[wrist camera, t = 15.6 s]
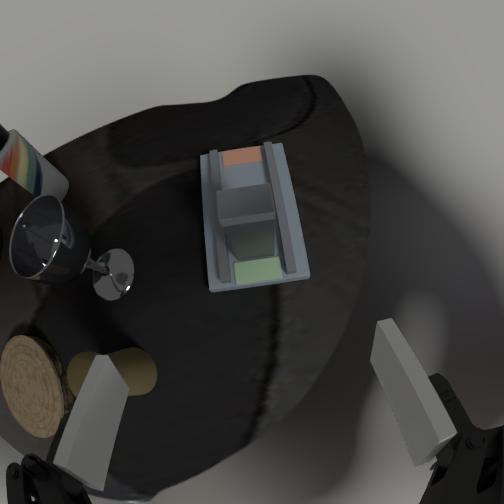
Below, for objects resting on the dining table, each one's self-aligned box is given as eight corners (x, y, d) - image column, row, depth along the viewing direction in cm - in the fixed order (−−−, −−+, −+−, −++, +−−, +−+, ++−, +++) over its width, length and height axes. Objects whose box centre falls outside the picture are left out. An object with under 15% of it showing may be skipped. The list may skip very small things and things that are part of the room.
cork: (135, 337, 31) (81, 333, 20) (167, 376, 29) (120, 389, 19) (106, 366, 30) (49, 370, 19) (135, 404, 28) (83, 423, 18)
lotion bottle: (44, 192, 39) (-27, 132, 20) (66, 172, 40) (-2, 103, 21) (49, 213, 37) (-32, 153, 18) (72, 192, 38) (-5, 120, 19)
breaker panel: (308, 278, 31) (311, 273, 29) (212, 292, 32) (206, 288, 29) (281, 149, 37) (282, 137, 34) (202, 161, 37) (198, 150, 35)
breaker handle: (275, 255, 31) (275, 212, 20) (237, 261, 31) (219, 220, 20) (271, 234, 31) (270, 182, 21) (235, 239, 32) (216, 191, 21)
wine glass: (117, 316, 32) (32, 295, 17) (80, 283, 33) (0, 251, 19) (148, 262, 33) (77, 212, 19) (108, 235, 35) (38, 183, 21)
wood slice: (55, 323, 32) (42, 321, 29) (90, 429, 27) (78, 434, 25) (4, 349, 31) (-8, 348, 28) (31, 437, 27) (19, 440, 24)
